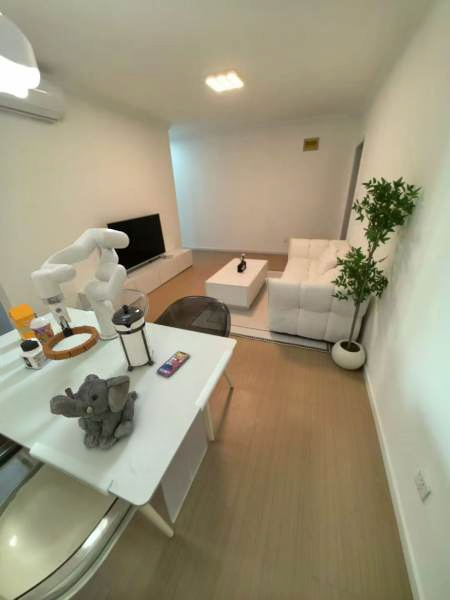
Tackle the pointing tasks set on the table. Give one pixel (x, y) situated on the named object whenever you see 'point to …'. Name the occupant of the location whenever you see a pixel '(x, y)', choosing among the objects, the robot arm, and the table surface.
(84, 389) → the stuffed elephant
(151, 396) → the table surface
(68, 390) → the spindle
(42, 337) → the smoothie
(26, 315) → the orange juice
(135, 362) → the coffee press
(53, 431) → the table surface
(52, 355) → the orange-brown ring
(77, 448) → the table surface
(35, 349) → the container
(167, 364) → the smartphone
